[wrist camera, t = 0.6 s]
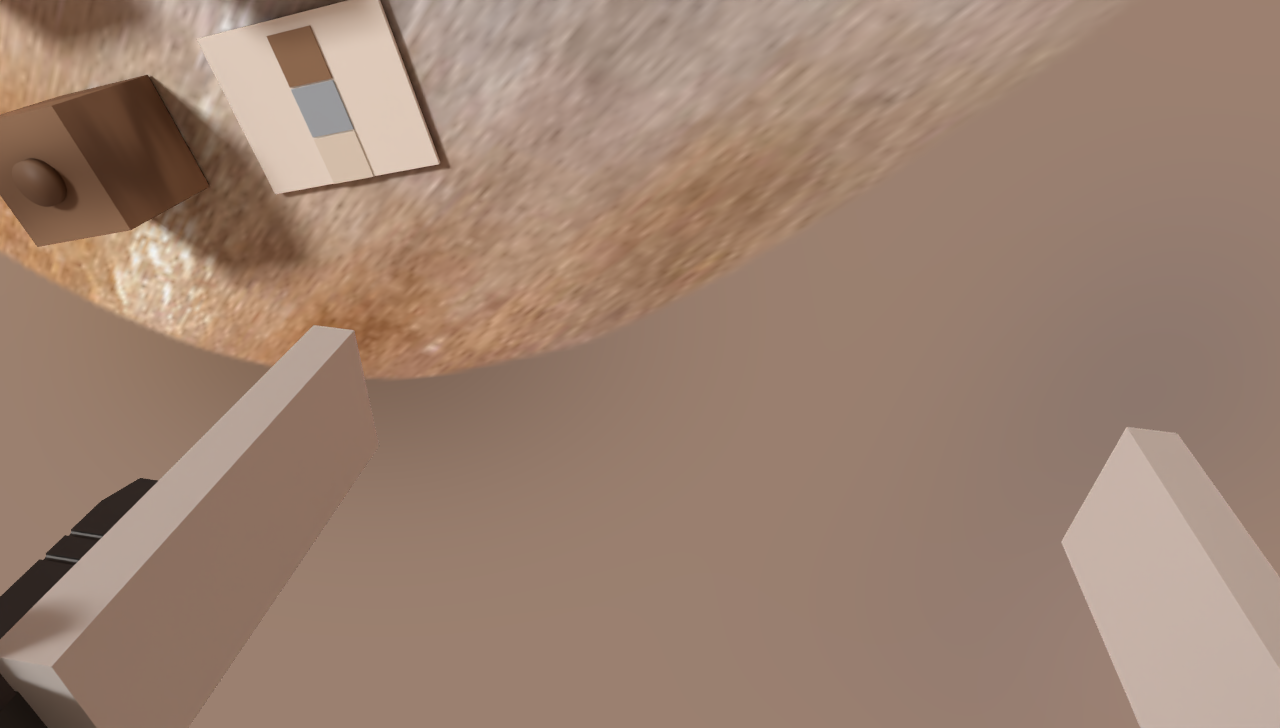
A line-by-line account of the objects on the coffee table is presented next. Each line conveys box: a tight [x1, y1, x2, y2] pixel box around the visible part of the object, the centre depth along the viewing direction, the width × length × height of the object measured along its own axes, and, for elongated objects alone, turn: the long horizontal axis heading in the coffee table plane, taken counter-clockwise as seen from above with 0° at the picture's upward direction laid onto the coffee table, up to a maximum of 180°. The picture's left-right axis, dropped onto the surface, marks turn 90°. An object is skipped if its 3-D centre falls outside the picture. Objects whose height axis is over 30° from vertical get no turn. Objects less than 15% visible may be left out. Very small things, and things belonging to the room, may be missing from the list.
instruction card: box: [197, 0, 440, 194], centre depth 36 cm, size 8×10×1 cm
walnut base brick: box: [0, 75, 209, 247], centre depth 36 cm, size 6×6×6 cm
